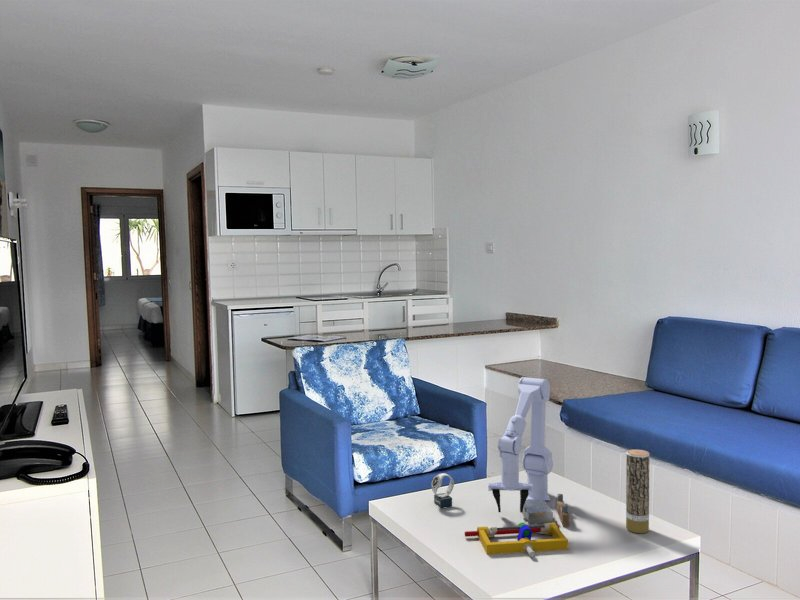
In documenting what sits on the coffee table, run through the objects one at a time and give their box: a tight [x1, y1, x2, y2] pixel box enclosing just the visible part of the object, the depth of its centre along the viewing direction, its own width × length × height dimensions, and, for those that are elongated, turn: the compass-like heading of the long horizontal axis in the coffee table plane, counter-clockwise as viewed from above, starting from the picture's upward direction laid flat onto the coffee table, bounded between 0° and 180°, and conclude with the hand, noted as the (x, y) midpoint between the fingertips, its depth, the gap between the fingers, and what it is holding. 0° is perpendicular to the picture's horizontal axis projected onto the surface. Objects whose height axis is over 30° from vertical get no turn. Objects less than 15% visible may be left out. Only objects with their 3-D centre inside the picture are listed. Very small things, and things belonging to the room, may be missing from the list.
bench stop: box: [555, 493, 570, 528], centre depth 224 cm, size 15×2×6 cm, turn 175°
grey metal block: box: [521, 499, 554, 525], centre depth 226 cm, size 12×8×4 cm, turn 3°
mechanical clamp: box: [464, 522, 569, 558], centre depth 204 cm, size 18×6×30 cm
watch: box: [430, 472, 455, 509], centre depth 238 cm, size 6×8×11 cm
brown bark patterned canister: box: [625, 448, 650, 534], centre depth 213 cm, size 7×7×25 cm
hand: (510, 511), depth 226 cm, fingers open, 7 cm apart
